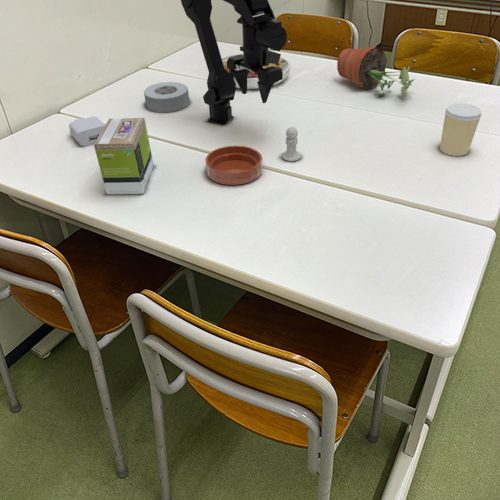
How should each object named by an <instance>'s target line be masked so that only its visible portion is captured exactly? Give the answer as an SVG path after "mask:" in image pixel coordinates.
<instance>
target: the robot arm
mask: <svg viewBox="0 0 500 500" xmlns="http://www.w3.org/2000/svg"><path fill="white" fill-rule="evenodd" d="M222 1H223V2H225V3H226V4H227V3H228V5H230V6H232V7H233V9H234V11H235V12H236V13H237V14H238V15H239V16H240V17H239V18H237V20H236V23H237V24H241V26H242V27H241V28H242V45H241V46H239V51H240V52H242V54H243V55H237V54H236V55H237V56H233V57H230V58H228V60H227V68H228V69H230V72H228V71H227V70H226V69H225V68H224V65H223V62H222V58H223V57H222V56H221V55H222V54H221V51H220V48H219V45H218V41H217V37H216V34H215V31H214V27H213V23H212V20H211V15H212V11H213V4H212V0H180V3H181V6H182V8H183V11H184V13H185V15H186V16H187V18H188V19H189V20H190V21H191V22H192V23H193V24H194V27H195V31H196V34H197V37H198V41H199V44H200V47H201V50H202V54H203V57H204V61H205V64H206V67H207V68H206V69H207V71H208V75H207V80H206V85H207V90H206V92H205V93H204V95H203V96H202V98H203V102H204V104H206V105H208V113H209V118H208V119H206V121H207V122H208V123H212V124H217V125H222V126H223V125H226V124H227V123H229V122H230V121H231V120H232V119H234V115H233V113H232V112H233V111H232V109H233V108H232V106H231V102H232V101H234V100H235V95H236V92H237V88H236V83H235V80H236V81H237V83H238V85H239V87H240V88H239V89H240V91H241V93H242V94H243V95H246V94H247V92H248V89H247V76H248V73H249V71H252V72H255V73H257V74H258V79H259V81H258V82H257V83H258V87H259V89H258V90H259V95H260V98H261V102H262V104H266V103H267V102H268V99H269V96H270V93H271V90H272V88H273V86H274V85H273V84H274V83H275V82H278V81H279V80H282V79H283V71H282V70H281V69H279V68H276V67H273V66H271V67H268V68H263V66H268V65H269V63H272V64H275V65H278V64H279V60H280V57H282V56H281V55H282V53H279V52H276V51H281V50H283V48H284V47H285V46H286V44H287V40H288V33H287V30H286V29H285V27H283V26H282V21H280V20H276V16H275V14H274V10H273V9H272V7H271V4H270V2H269V0H222ZM270 49H271V50H270ZM273 50H274V51H273ZM234 78H235V80H234Z"/></svg>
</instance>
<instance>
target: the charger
mask: <svg viewBox="0 0 500 500" xmlns="http://www.w3.org/2000/svg"><path fill="white" fill-rule="evenodd" d="M105 124H106V123H104V122H102V120H100V119H99V118H98V116H90V117H86V118H85V117H80V118H76V119H74V121H71V122H70V123H69V124H68V127H69V132H70V134H71V136H72V138H73V139H74V140H75V141H76V142H77V143H78V144H79V146H81V147H87V146H91V145H94V143H95V142H96V140H97V138H98V136H99V135H100V133H101V131H102V130H103V128H104V126H105Z"/></svg>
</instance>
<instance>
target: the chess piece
mask: <svg viewBox="0 0 500 500" xmlns="http://www.w3.org/2000/svg"><path fill="white" fill-rule="evenodd" d="M298 135H299V131H298V129H297V128H296V127H294V126H289V127H288V128H287V129H286V131H285V136H286V138H285V144H286V150H285V151H284V152H283V153H282V155H281V158H282V159H283V160H284V161H287V162H296V161H299V160H300V159H301V157H302V154H301V153H300V152H299V151H298V150H297V145H298V144H299V143H298V140H299V139H298Z"/></svg>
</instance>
